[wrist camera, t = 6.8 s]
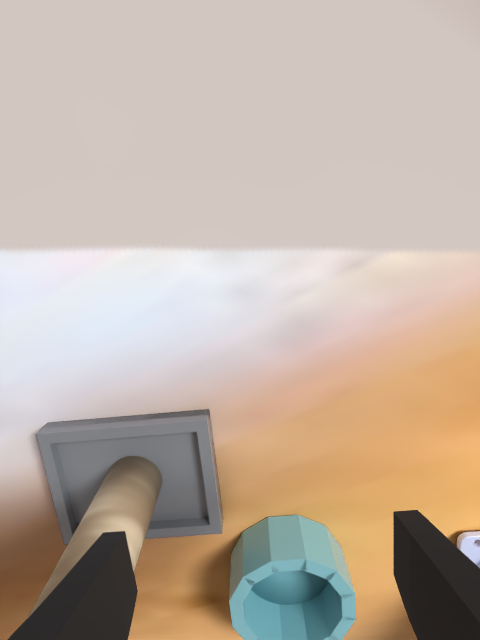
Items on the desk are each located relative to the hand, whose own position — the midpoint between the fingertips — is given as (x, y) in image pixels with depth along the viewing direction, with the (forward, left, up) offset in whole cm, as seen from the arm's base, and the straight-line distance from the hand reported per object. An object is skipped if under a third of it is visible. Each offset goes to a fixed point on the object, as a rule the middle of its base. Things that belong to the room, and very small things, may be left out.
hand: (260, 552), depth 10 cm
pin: (+7, +5, -10) cm, 13 cm away
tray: (+7, +5, -10) cm, 13 cm away
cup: (-1, +12, -10) cm, 16 cm away
